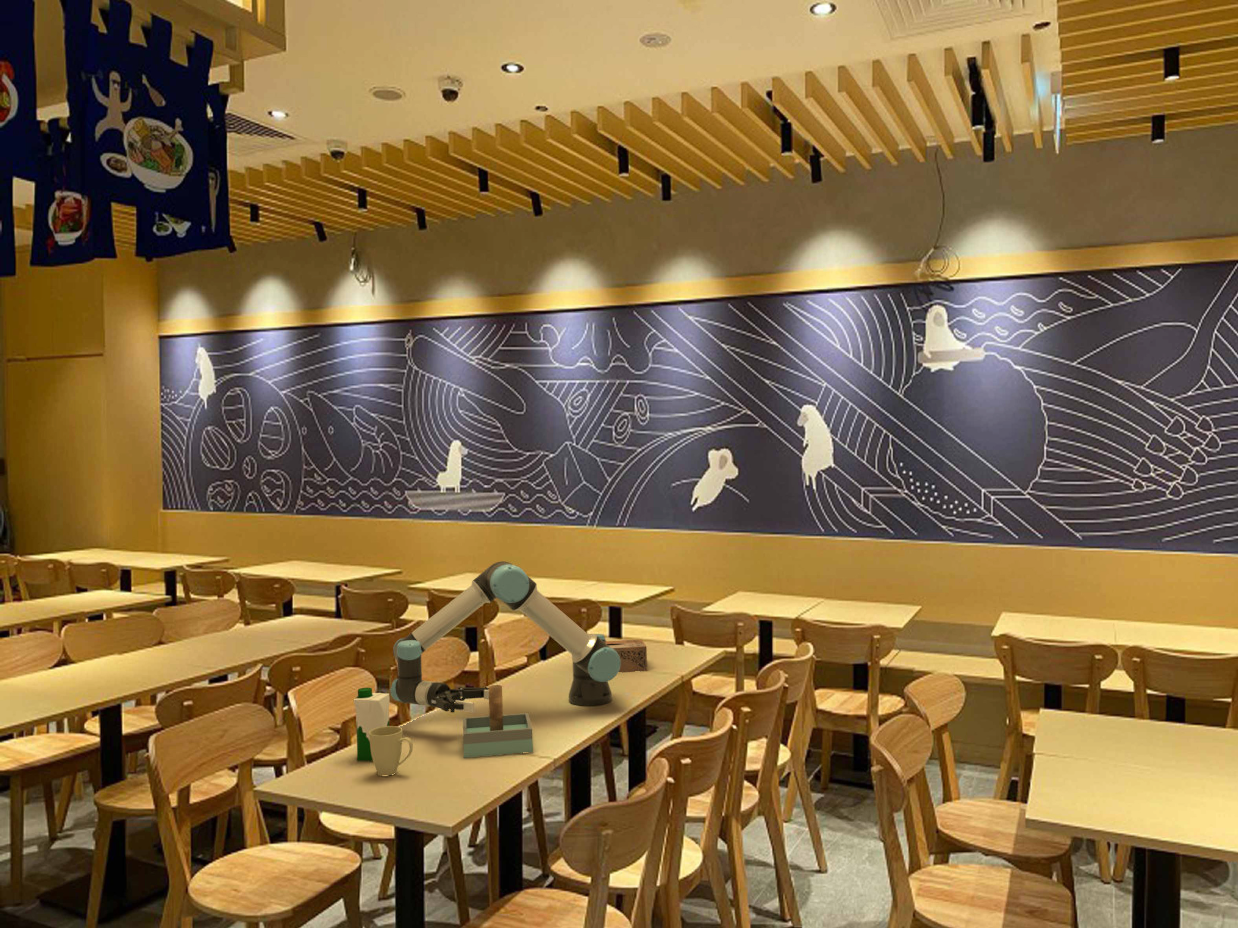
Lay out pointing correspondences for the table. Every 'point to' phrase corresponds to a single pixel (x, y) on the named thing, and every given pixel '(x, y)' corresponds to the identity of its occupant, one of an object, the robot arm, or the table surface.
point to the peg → (495, 707)
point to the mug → (387, 748)
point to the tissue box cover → (630, 654)
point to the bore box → (497, 736)
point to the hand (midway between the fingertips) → (487, 701)
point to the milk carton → (369, 718)
